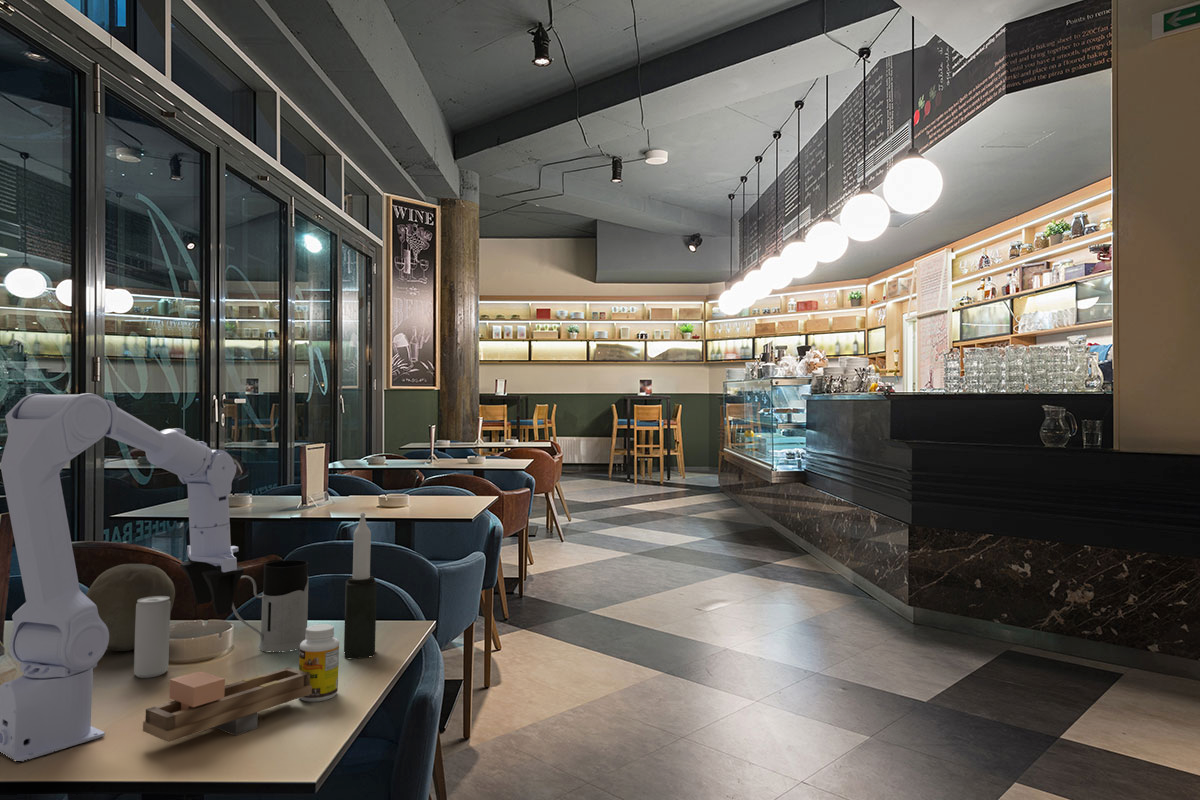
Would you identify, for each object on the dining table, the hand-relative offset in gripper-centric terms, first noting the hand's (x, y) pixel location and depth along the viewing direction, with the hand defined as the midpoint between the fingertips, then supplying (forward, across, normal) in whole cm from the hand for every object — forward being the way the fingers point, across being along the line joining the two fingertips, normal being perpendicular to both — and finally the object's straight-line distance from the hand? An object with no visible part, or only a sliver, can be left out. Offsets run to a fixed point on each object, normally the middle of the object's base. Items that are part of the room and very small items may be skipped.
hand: (213, 608), depth 119 cm
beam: (+9, -23, +7) cm, 26 cm away
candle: (+13, -6, -22) cm, 26 cm away
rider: (+6, -24, +11) cm, 27 cm away
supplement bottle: (+11, -21, -6) cm, 24 cm away
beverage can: (+11, +8, +7) cm, 15 cm away
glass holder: (+13, +8, -12) cm, 20 cm away
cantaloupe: (+12, +27, +5) cm, 30 cm away
